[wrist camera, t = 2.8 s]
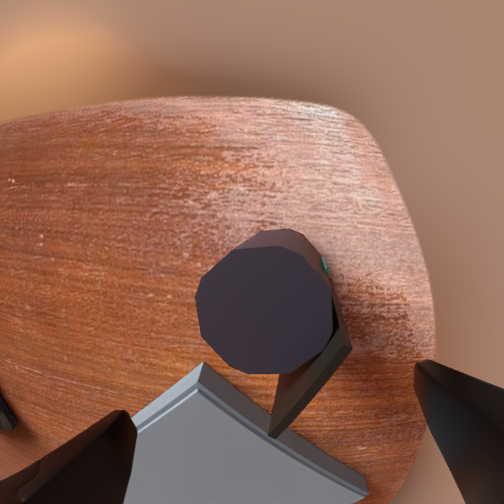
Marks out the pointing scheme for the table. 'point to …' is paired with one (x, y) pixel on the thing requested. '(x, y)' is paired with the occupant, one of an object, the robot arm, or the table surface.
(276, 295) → the speaker
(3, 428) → the game console
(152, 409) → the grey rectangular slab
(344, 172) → the table surface
